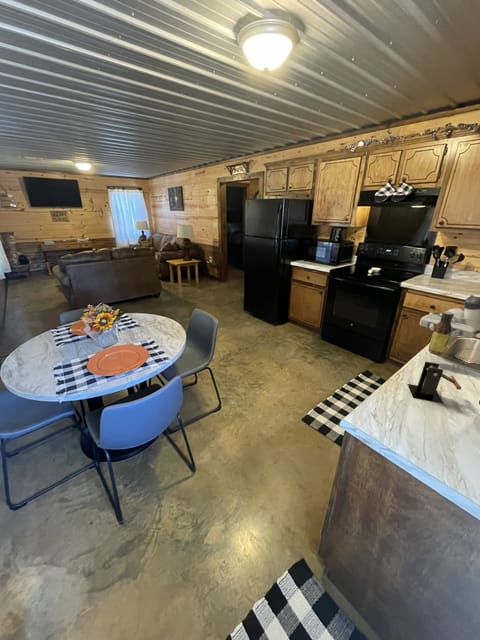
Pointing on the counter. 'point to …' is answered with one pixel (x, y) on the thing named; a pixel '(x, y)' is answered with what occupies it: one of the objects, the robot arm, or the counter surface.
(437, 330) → the sauce bottle
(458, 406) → the counter surface
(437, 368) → the lever
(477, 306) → the robot arm
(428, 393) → the bracket
